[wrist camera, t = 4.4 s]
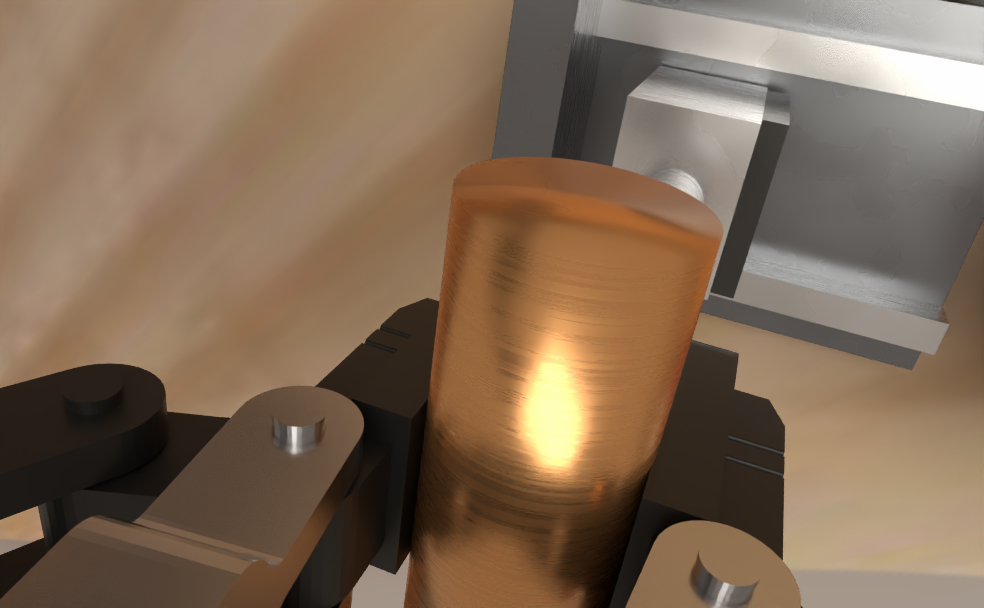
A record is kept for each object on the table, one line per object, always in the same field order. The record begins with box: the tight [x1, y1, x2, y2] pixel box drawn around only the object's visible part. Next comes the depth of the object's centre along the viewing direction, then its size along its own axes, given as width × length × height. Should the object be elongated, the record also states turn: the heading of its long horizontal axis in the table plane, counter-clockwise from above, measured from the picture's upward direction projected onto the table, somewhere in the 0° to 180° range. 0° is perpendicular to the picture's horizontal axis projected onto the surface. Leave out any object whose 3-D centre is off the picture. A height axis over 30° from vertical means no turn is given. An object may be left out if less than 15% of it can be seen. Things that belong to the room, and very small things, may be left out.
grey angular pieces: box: [492, 0, 984, 370], centre depth 18 cm, size 24×10×10 cm, turn 82°
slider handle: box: [404, 66, 790, 608], centre depth 15 cm, size 4×7×18 cm, turn 172°
